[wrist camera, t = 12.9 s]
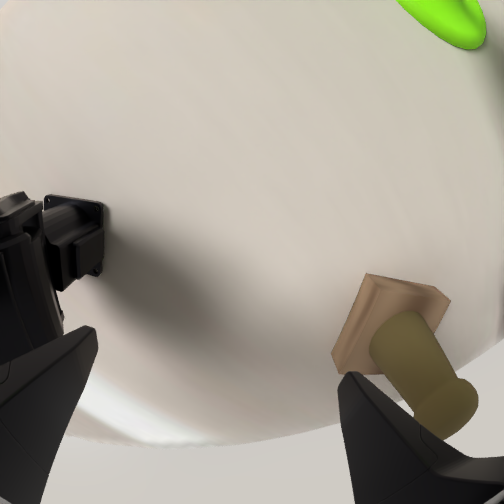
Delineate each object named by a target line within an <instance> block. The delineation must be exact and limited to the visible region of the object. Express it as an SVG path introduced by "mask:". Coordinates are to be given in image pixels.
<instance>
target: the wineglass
mask: <svg viewBox="0 0 504 504" xmlns="http://www.w3.org/2000/svg"><path fill="white" fill-rule="evenodd" d="M396 1H397V2H398V3H399V4H400V5H401V6H402V7H403V8H404V9H405V10H406V11H407V12H408V13H409V14H411V15H412V16H413V17H414V18H415V19H416V20H417V21H418V22H419V23H421V24H422V25H423V26H424V27H426V28H427V29H428V30H430V31H431V32H432V33H434V34H435V35H436V36H438V37H439V38H441V39H443V40H445V41H446V42H448V43H450V44H452V45H453V46H456V47H460V48H463V49H466V50H468V49H476V48H477V47H479V46H480V45H481V44H483V42H484V39H485V36H486V22H485V18H484V15H483V12H482V9H481V7H480V5H479V3H478V1H477V0H396Z"/></svg>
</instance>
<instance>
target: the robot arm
mask: <svg viewBox="0 0 504 504" xmlns="http://www.w3.org/2000/svg"><path fill="white" fill-rule="evenodd" d="M48 199H49V200H50V202H49V200H48ZM96 206H98V208H99V210H98V211H97V210H96ZM42 210H43V201H35V200H30V199H29V198H28V197H27V195H26V194H25V193H24V191H23V192H17V193H14V194H10V195H7V196H5V197H2V198H0V504H40V502H41V498H42V495H43V492H44V489H45V486H46V482H47V479H48V476H49V475H48V474H49V473H50V470H51V467H52V464H53V461H54V459H55V456H56V453H57V451H58V448H59V445H60V443H61V440H62V438H63V435H64V433H65V431H66V428H67V426H68V423H69V421H70V419H71V416H72V414H73V412H74V410H75V407H76V405H77V403H78V401H79V399H80V396H81V394H82V392H83V390H84V388H85V385H86V383H87V380H88V377H89V374H90V371H91V368H92V366H93V363H94V360H95V357H96V355H97V352H98V341H97V334H96V330H95V329H94V328H92V327H89V326H86V325H85V326H82V327H80V328H78V329H76V330H74V331H72V332H69V333H67V334H65V335H63V334H64V329H63V320H64V314H63V311H62V310H61V308H60V304H59V301H58V297H57V293H56V290H57V291H60V292H63V291H64V290H65V289H66V288H67V287H68V286H69V285H70V284H71V283H72V282H74V281H75V280H76V279H78V280H80V279H81V278H82V277H83V276H84V275H85V274H88V275H92V276H95V277H98V276H100V275H101V273H102V259H103V258H104V230H103V205H102V203H101V202H98V201H91V200H85V199H79V198H72V197H66V196H59V195H52V194H49V195H46V196H45V198H44V211H43V212H42ZM95 269H97V270H98V272H96V270H95ZM338 401H339V411H340V422H341V428H342V433H343V438H344V443H345V449H346V454H347V459H348V464H349V470H350V476H351V481H352V488H353V494H354V501H355V504H504V456H501V457H488V458H472V457H469V456H466V455H464V454H463V453H461V452H459V451H458V450H456V449H455V448H453V447H452V446H450V445H448V444H447V443H445V442H444V441H443V440H441V439H440V438H438V437H437V436H435V435H434V434H433V433H432V432H430V431H429V430H428V429H426V428H425V427H424V426H423V425H422V424H420V423H419V422H418V421H417V420H415V419H414V418H413V417H412V416H411V415H409V414H408V413H407V412H406V411H404V410H403V409H402V408H401V407H400V406H398V405H397V404H396V403H395V402H394V401H393V400H391V399H390V398H389V397H388V396H387V395H386V394H384V393H383V392H382V391H381V390H380V389H378V388H377V387H376V386H375V385H374V384H373V383H371V382H370V381H369V380H368V379H367V378H365V377H364V376H363V375H362V374H361V373H360V372H358V371H348V372H347V373H346V374H345V376H344V377H343V379H342V381H341V382H340V384H339V386H338Z"/></svg>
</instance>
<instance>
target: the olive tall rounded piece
mask: <svg viewBox="0 0 504 504" xmlns="http://www.w3.org/2000/svg"><path fill="white" fill-rule="evenodd" d="M369 354H370V356H371V358H372V360H373V361H374V362H375V363H376V365H377V366H378V367H379V368H380V370H381V371H382V372H383V373H384V375H385V376H386V377H387V378H388V380H389V381H390V382H391V384H392V385H393V386H394V387H395V389H396V390H397V391H398V392H399V394H400V395H401V396H402V398H403V399H404V400H405V401H406V403H407V404H408V405H409V407H410V408H411V409H412V411H413V412H414V417H413V418H414V419H415V420H417V421H418V422H419V423H420V424H422V425H423V426H424V427H425V428H426V429H428V430H429V431H430V432H432V433H433V434H434V435H435V436H437V437H438V438H440V439H441V440H445V439H447V438H448V437H450V436H451V435H453V434H455V433H456V432H457V431H459V430H460V429H461V428H462V427H463V426H464V425H465V424H466V423H467V422H468V421H469V420H470V419H471V418H472V416H473V415H474V414H475V412H476V410H477V408H478V394H477V391H476V389H475V388H474V387H473V386H472V384H471V383H469V382H468V381H466V380H465V379H460V378H458V377H457V376H456V374H455V372H454V370H453V368H452V366H451V364H450V362H449V360H448V359H447V357H446V355H445V353H444V351H443V350H442V348H441V346H440V344H439V343H438V341H437V339H436V338H435V336H434V334H433V333H432V331H431V329H430V328H429V326H428V324H427V323H426V321H425V320H424V318H423V317H422V316H421V315H420V314H419V313H418V312H415V311H404V312H401V313H399V314H396V315H394V316H393V317H391V318H390V319H388V320H387V321H385V322H384V323H383V324H382V325H381V326H380V327H379V328H378V329H377V331H376V333H375V334H374V336H373V337H372V339H371V342H370V345H369Z"/></svg>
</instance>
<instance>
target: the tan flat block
mask: <svg viewBox="0 0 504 504" xmlns="http://www.w3.org/2000/svg"><path fill="white" fill-rule="evenodd" d="M450 302H451V300H449V299H448V298H447V297H446V296H445V295H444V294H443V293H441V292H440V291H439V290H438V289H437V288H436V287H434V286H429V285H423V284H418V283H413V282H408V281H403V280H398V279H392V278H387V277H382V276H377V275H372V274H367V273H366V274H365V277H364V280H363V282H362V285H361V287H360V290H359V292H358V295H357V297H356V300H355V302H354V304H353V307H352V309H351V311H350V314H349V316H348V318H347V321H346V323H345V325H344V327H343V329H342V332H341V334H340V336H339V338H338V340H337V342H336V344H335V346H334V349H333V351H332V353H331V355H332V358H333V360H334V363H335V365H336V368H337V370H338V373H339V374H346V373H347V372H348V371H358V372H360V373H361V374H362V375H368V374H384V373H383V372H382V371H381V370H380V368H379V367H378V366H377V365H376V363H375V362H374V361H373V360H372V358H371V356H370V354H369V345H370V342H371V339H372V337H373V336H374V334H375V333H376V331H377V329H378V328H379V327H380V326H381V325H382V324H383V323H384V322H385V321H387V320H388V319H390V318H391V317H393V316H394V315H396V314H399V313H401V312H404V311H415V312H418V313H419V314H420V315H421V316H422V317H423V318H424V320H425V321H426V323H427V324H428V326H429V328H430V329H431V331H432V333H433V334H434V333H435V331H436V329H437V327H438V325H439V323H440V322H441V320H442V318H443V316H444V314H445V312H446V310H447V308H448V306H449V304H450Z"/></svg>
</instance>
